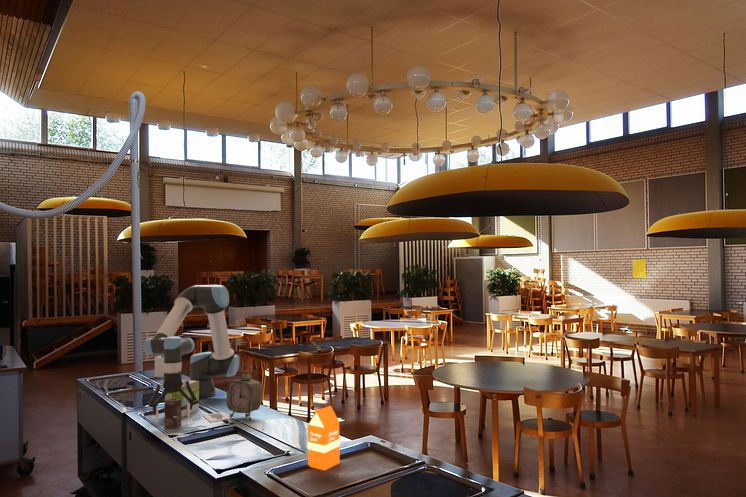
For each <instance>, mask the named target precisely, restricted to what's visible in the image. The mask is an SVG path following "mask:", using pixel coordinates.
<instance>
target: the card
mask: <svg viewBox="0 0 746 497" xmlns="http://www.w3.org/2000/svg"><path fill="white" fill-rule="evenodd" d="M202 417H203V418H205V419H206V420H207V421H208V422H209V423H215V422H221V421H228V420H232V419H231V417H230V415H228V413H226V412H224V411H220V412H214V413H208V414H203V415H202ZM227 419H228V420H227Z"/></svg>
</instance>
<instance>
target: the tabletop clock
mask: <svg viewBox="0 0 746 497" xmlns="http://www.w3.org/2000/svg"><path fill="white" fill-rule="evenodd" d="M245 366H246V367H249V369H250V371H248V370H247V369H245V370H244V371H243V370H242V368H243V367H245ZM239 370H240V372H241V373H243V374H242V375H241V376H240V378H239V379H234V380H231V381H229V382H228V384H227V388H226V406H227V409H228V410H229V411H232V413H230V414H229V416H230V417H231V418H232V419H233V417H234V414H235V413H237V414H244V417H245V418H247V421H248V422H250V421H252V418H251V413H252V412H254V411H257V410H259V409H260V407H261V404H262V396H263V394H262V393H263V388H262V387H263V386H262V383H261V382H260V381H258V380H256V379H253V378H251V375H250V374H251V373H252V372H253V367H252V366H251V365H249V364H246V363H245V364H242V365H240V366H239Z"/></svg>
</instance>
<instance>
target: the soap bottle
mask: <svg viewBox="0 0 746 497" xmlns="http://www.w3.org/2000/svg"><path fill="white" fill-rule="evenodd" d="M164 373H165V372H164V355H158V356H155V357H154V378H161V379H162V378H163V379H164Z"/></svg>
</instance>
